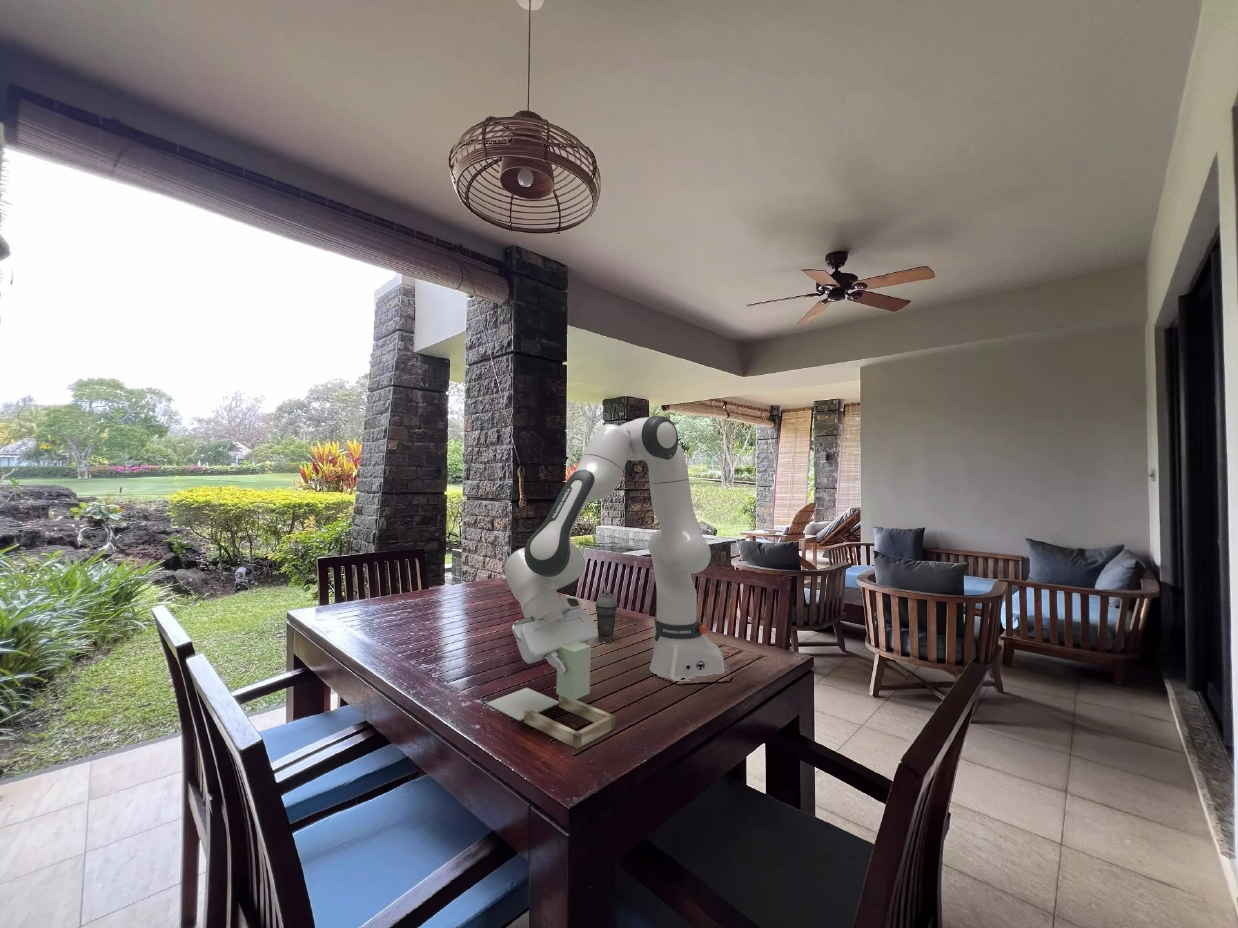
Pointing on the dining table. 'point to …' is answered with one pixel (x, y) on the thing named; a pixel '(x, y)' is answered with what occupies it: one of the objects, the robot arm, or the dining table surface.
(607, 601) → the beverage cup
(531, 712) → the lane
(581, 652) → the block
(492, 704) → the mat
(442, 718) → the dining table surface
